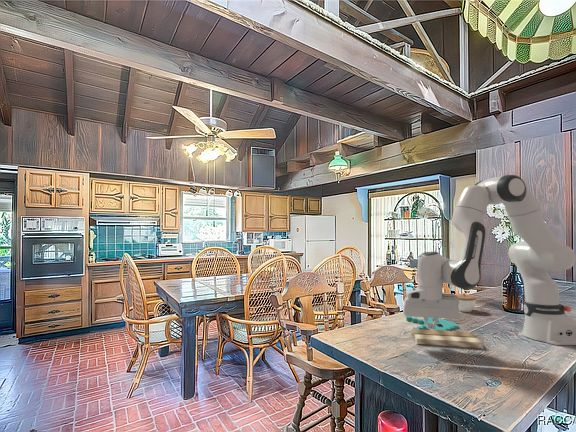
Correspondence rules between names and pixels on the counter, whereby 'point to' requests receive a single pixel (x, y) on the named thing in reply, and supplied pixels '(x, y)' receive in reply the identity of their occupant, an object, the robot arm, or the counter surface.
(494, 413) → the counter surface
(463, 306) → the lidded jar
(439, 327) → the alien figure
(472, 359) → the counter surface
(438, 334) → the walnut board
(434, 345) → the underlay mat
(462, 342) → the birch plank
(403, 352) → the counter surface
